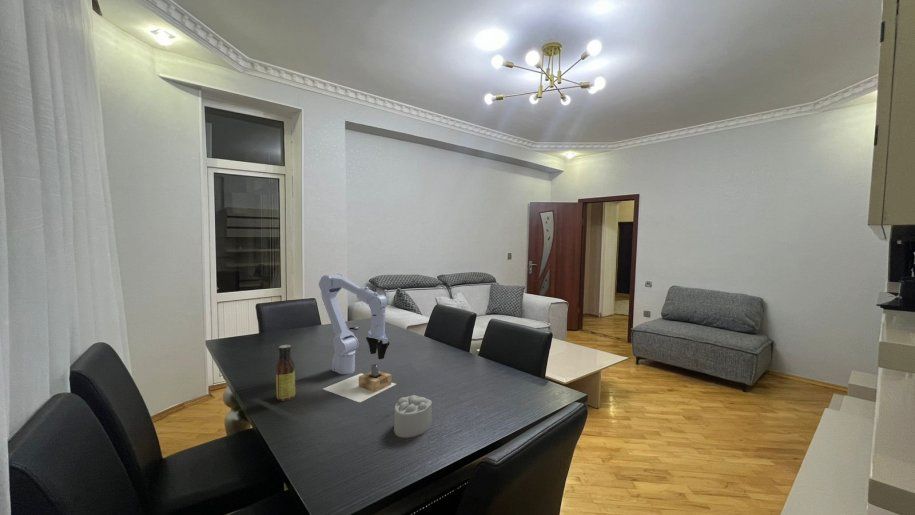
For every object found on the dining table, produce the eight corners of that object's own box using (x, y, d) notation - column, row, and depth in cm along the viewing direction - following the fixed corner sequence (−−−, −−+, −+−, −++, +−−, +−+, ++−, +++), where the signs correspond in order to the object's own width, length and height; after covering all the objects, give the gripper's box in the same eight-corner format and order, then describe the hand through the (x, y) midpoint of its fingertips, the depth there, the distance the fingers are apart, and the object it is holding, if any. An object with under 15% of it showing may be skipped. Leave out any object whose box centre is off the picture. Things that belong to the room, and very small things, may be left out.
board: (322, 391, 139) (322, 388, 139) (360, 375, 156) (361, 373, 156) (359, 405, 129) (359, 402, 129) (396, 386, 146) (396, 384, 146)
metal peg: (370, 386, 143) (369, 366, 143) (374, 383, 146) (374, 363, 145) (375, 387, 142) (375, 367, 142) (380, 384, 144) (379, 364, 144)
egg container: (435, 421, 119) (435, 396, 119) (414, 441, 108) (415, 413, 107) (408, 414, 124) (409, 389, 123) (385, 432, 112) (386, 405, 111)
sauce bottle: (299, 398, 133) (299, 345, 132) (284, 405, 127) (285, 349, 126) (286, 394, 136) (286, 342, 134) (271, 401, 130) (272, 347, 129)
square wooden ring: (358, 386, 142) (358, 376, 142) (374, 379, 150) (375, 369, 150) (375, 392, 138) (375, 381, 137) (391, 384, 145) (391, 374, 145)
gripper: (361, 321, 154) (361, 352, 155) (376, 329, 143) (375, 363, 143) (377, 319, 158) (376, 350, 159) (392, 327, 147) (391, 359, 148)
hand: (377, 356), depth 151 cm, fingers open, 7 cm apart
